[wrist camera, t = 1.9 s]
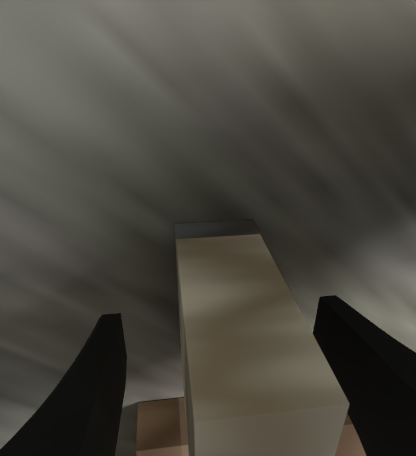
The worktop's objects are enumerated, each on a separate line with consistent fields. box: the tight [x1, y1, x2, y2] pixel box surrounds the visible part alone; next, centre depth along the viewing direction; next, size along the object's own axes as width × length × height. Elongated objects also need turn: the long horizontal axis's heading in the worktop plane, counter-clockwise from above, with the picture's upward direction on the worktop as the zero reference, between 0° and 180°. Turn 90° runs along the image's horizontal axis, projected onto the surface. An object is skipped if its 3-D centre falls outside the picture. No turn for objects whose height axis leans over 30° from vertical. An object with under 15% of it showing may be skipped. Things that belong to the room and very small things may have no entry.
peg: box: [174, 219, 349, 456], centre depth 12 cm, size 3×6×8 cm, turn 0°
